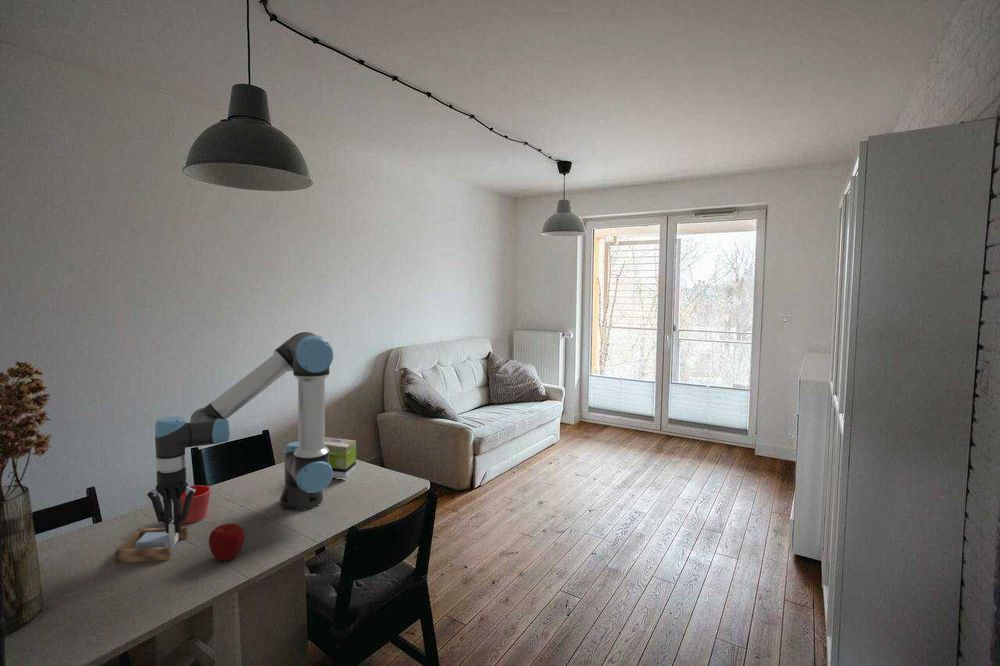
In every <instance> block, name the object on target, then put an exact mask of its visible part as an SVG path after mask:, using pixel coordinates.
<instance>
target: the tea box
mask: <svg viewBox="0 0 1000 666" xmlns="http://www.w3.org/2000/svg"><path fill="white" fill-rule="evenodd" d="M325 446H326V447H327V448H328V449H329V464H330V465H331V467H332V471H333V477H332V478H346V477H348V476H349V475H350V474H351V473H352V472H353V471H355V470H356V471H357V469H356V468H357V465H356V464H357V440H354V439H347V438H336V437H328V436H325Z"/></svg>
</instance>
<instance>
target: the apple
mask: <svg viewBox="0 0 1000 666" xmlns="http://www.w3.org/2000/svg"><path fill="white" fill-rule="evenodd" d="M245 535H246V532H245V530H244V527H243V526H241V525H240V524H238V523H233V522H232V523H231V522H230V523H229V522H228V523H225V524H221V525H219V526H216V527H215V528H214V529H212V531H211V532H210V534H209V537H208V546H209V549H210V552H211V554H212V556H213V557H214V558H215V559H216V560H218V561H219V562H229V561H230V560H232V559H234V558H235V557H237V556H238V555H239V554H240V552H241V551H242V548H243V547H244V544H245V539H246V536H245Z"/></svg>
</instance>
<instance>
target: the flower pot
mask: <svg viewBox="0 0 1000 666" xmlns="http://www.w3.org/2000/svg"><path fill="white" fill-rule="evenodd" d="M188 487H190V488H192V489H193V488H196V492H195V493H194V494H193V497H192V501H191V505H190V509H189V513H188V517H187V518H186V519H185V520H184V521H181V523H182V524H188V523H189V524H192V523H197V522H199V521H201V520H204V519H205V518H206V517H207V513H208V507H209V501H210V497H211V490H212V489H211V487H210V486H208V485H204V484H203V485H201V484H200V485H199V484H198V485H192V486H191V485H190V486H189V485H188ZM186 496H187V495H186V491H184V493H183V494H182V497H181V514H182V510H183V506H184V502H185V498H186Z"/></svg>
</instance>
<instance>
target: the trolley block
mask: <svg viewBox="0 0 1000 666" xmlns="http://www.w3.org/2000/svg"><path fill="white" fill-rule="evenodd" d="M175 545H176V543H175V544H173V545H169V533H166V532H150V533H145V534H144V535H143V536H142V537H141V538H140V539H139V540H138V541H137V542H136V547H135V548H151V547H169V546H171V549H173V547H174V546H175Z"/></svg>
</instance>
